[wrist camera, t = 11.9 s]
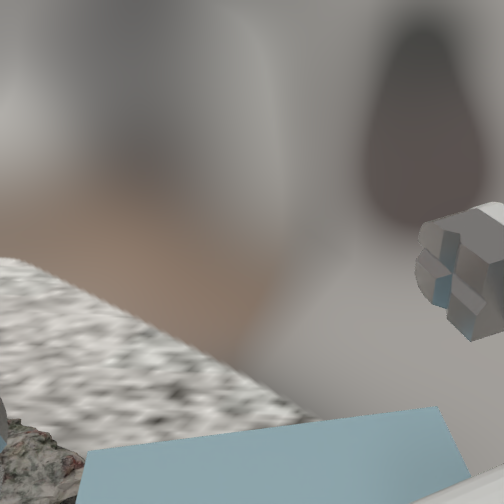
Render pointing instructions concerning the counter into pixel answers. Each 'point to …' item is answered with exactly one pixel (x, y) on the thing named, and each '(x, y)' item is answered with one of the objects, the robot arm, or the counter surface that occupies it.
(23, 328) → the counter surface
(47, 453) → the mineral rock
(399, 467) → the trapdoor
